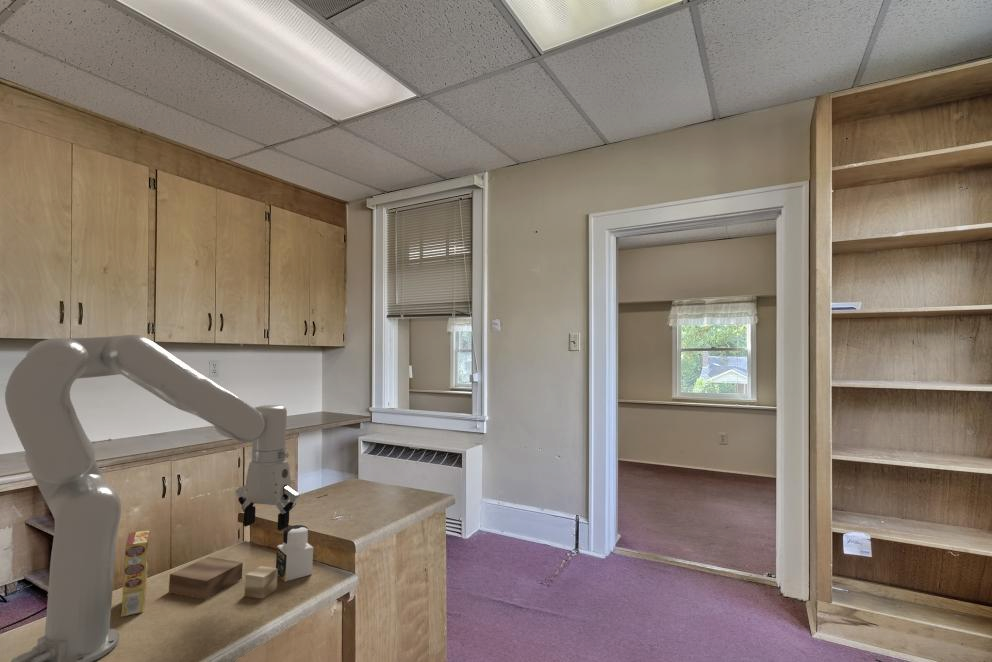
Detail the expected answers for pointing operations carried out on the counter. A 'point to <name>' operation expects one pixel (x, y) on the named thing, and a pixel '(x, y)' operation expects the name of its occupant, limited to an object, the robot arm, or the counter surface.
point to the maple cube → (261, 582)
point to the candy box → (135, 573)
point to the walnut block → (205, 577)
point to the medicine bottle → (294, 554)
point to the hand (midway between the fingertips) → (265, 526)
